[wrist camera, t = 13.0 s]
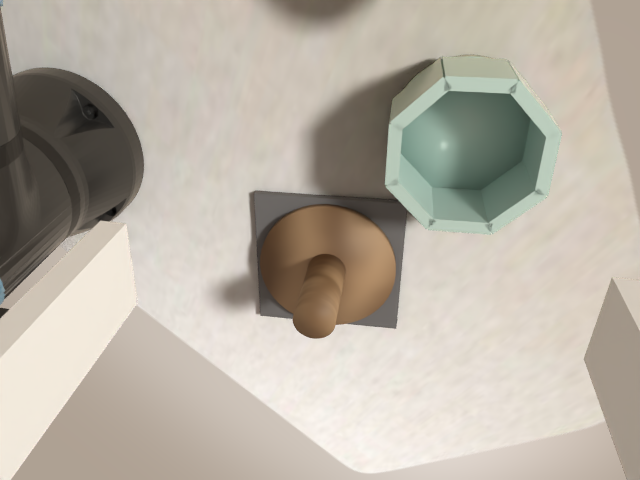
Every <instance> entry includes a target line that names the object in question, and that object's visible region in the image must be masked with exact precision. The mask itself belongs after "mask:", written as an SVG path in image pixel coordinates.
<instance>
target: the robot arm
mask: <svg viewBox="0 0 640 480" xmlns="http://www.w3.org/2000/svg"><path fill="white" fill-rule="evenodd" d="M0 6H3V0H0ZM143 171H144V160H143V152H142V147H141V144H140V140H139V138H138V135H137V133H136V130H135V128H134V126H133V124H132V123H131V121H130V119H129V118H128V116H127V115H126V113H125V112H124V110H123V109H122V108H121V107H120V105H119V104H118V103H117V102H116V101H115V100H114V99H113V98H112V97H111V96H110V95H109V94H108V93H107V92H105V91H104V90H103V89H102V88H100V87H99V86H97V85H96V84H94V83H93V82H91V81H89V80H88V79H86V78H84V77H82V76H80V75H77V74H75V73H72V72H69V71H65V70H61V69H56V68H34V69H29V70H25V71H23V72H20V73H18V74H15V75H13V76H12V71H11V66H10V60H9V54H8V48H7V42H6V37H5V31H4V25H3V19H2V13H1V8H0V305H1V303H2V302H3V300H4V299H5V298H6V297H7V296H8V295H9V294H10V293H11V292H12V291H13V290H14V289H15V288H16V287H17V286H18V285H19V284H20V283H21V282H22V281H23V280H24V279H25V278H26V277H27V276H29V275H30V274H31V272H33V271H34V270H35V269H36V268H37V267H38V266H39V265H40V264H41V263H42V262H43V261H44V260H45V259H46V258H47V257H48V256H49V255H50V254H51V253H52V252H53V251H54V250H55V249H56V248H57V247H58V246H59V245H60V244H61V243H62V242H63V241H64V240H65V239H66V238H67V237H70V236H73V235H76V234H79V233H82V232H85V231H88V230H90V231H89V232H88V233H87V234H86V235H85V236H84V237H83V238H82V239H81V240H80V241H79V242H78V243H77V244H76V245H75V246H74V247H73V248H72V249H71V250H70V251H69V252H68V253H67V254H66V255H65V256H64V257H63V258H62V259H61V260H60V261H59V262H58V263H57V264H56V265H55V266H54V267H53V268H52V269H50V270H49V271H48V272H47V273H46V274H45V275H44V276H43V277H42V278H41V279H40V280H39V281H38V282H37V283H36V284H35V285H34V286H33V287H32V288H31V289H30V290H29V291H28V292H27V293H26V294H25V295H24V296H23V297H22V298H21V299H20V300H19V301H18V302H17V303H16V304H15V305H14V306H13V307H12V308H11V309H4V308H0V480H11V479H12V477H13V476H14V474H15V473H16V472H17V470H18V469H19V467H20V466H21V465H22V463H23V462H24V460H25V459H26V458H27V456H28V455H29V453H30V452H31V451H32V449H33V448H34V447H35V445H36V444H37V442H38V441H39V440H40V438H41V437H42V435H43V434H44V432H45V431H46V430H47V428H48V427H49V426H50V424H51V423H52V421H53V420H54V419H55V417H56V416H57V415H58V413H59V412H60V410H61V409H62V408H63V406H64V405H65V403H66V402H67V401H68V399H69V398H70V396H71V395H72V394H73V392H74V391H75V389H76V388H77V387H78V385H79V384H80V383H81V381H82V380H83V378H84V377H85V376H86V374H87V373H88V371H89V370H90V368H91V367H92V366H93V364H94V363H95V362H96V360H97V359H98V357H99V356H100V355H101V353H102V352H103V351H104V349H105V348H106V346H107V345H108V344H109V342H110V340H111V339H112V338H113V337H114V335H115V334H116V332H117V331H118V329H119V328H120V327H121V325H122V324H123V323H124V321H125V320H126V319H127V317H128V316H129V314H130V313H131V312H132V310H133V309H134V307H135V306H136V305H137V303H138V301H137V294H136V287H135V280H134V273H133V267H132V260H131V253H130V246H129V239H128V233H127V226H126V223H117V222H110V221H112V220H113V219H114V218H116V217H117V216H118V215H119V214H120V213H121V212H122V211H123V210H124V209H125V208H126V207H127V206H128V205H129V204H130V203H131V202H132V201H133V199H134V198H135V196H136V195H137V193H138V191H139V188H140V186H141V182H142V178H143ZM584 361H585V363H586V366H587V369H588V372H589V375H590V378H591V380H592V383H593V386H594V389H595V392H596V394H597V397H598V400H599V403H600V406H601V409H602V411H603V414H604V417H605V420H606V423H607V425H608V428H609V431H610V434H611V437H612V440H613V442H614V445H615V448H616V451H617V454H618V456H619V459H620V462H621V465H622V468H623V471H624V473H625V476H626V479H627V480H640V280H635V279H626V278H617V277H612V279H611V282H610V285H609V288H608V290H607V293H606V296H605V299H604V302H603V305H602V308H601V311H600V314H599V316H598V319H597V322H596V325H595V328H594V331H593V334H592V337H591V340H590V343H589V345H588V348H587V351H586V354H585V357H584Z"/></svg>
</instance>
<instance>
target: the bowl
mask: <svg viewBox="0 0 640 480" xmlns="http://www.w3.org/2000/svg"><path fill="white" fill-rule="evenodd" d="M561 136H562V133H561V130H560V128H559V126H558V125H557V123H556V122H555V120H554V119H553V117H552V116H551V114H550V112H549V111H548V109H547V108H546V106H545V105H544V104H543V102H542V101H541V100H540V99H539V97H538V96H537V95H536V94H535V92H534V91H533V90H532V89H531V88H530V86H529V85H528V84H527V82H526V81H525V79H524V78H523V77H522V76H521V75H520V74H519V73H518V72H517V70H516V69H515V68H514V67H513V65H512V64H511V63H510V62H509V60H507V59H493V58H489V57H485V56H479V55H460V56H454V57H443V56H442V59H441V58H439V59H438V60H436V61H435V62H434V63H433V64H432V65H430V66H428V67H427V68H425V69H423V70H422V71H421V72H420V73H418V74H417V75H416V76H415V77H414V78H413V79H412V80H411V81H410V82H409V83H408V84H407V85H406V87H405V88H404V89H403V90H402V91H401V92H400V93H399V94H398V95H396V96H395V97H394V98H393V100H392V105H391V112H390V120H389V131H388V145H387V160H386V174H385V185H386V186H385V187H386V188H387V189H388V190H389V191H390V192H391V193H392V194H393V195H394V196H395V197H396V198H397V199H398V200H399V201H400V202H401V204H402V205H403V206H404V207H405V208H406V209H407V210H408V211H409V212H410V213H411V214H412V215H413V216H414V217H415V218H416V219H417V220H418V221H419V222H420V223H421V224H422V225H423V226H424V228H425V229H427V228H428V230H435V231H448V232H462V233H475V234H488V235H491V233H492V234H494V233H495V232H497V231H498V230H500V229H501V228H502V227H504V226H505V225H507V224H508V223H510V222H511V221H513V220H514V219H516V218H517V217H519V216H520V215H522V214H523V213H525V212H526V211H528V210H529V209H531V208H532V207H534V206H535V205H537V204H538V203H540V202H541V201H543V200H544V199H546V198H547V197H546V196H548V194H549V190H550V185H551V181H552V176H553V172H554V167H555V163H556V158H557V154H558V149H559V145H560V140H561Z"/></svg>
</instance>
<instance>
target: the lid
mask: <svg viewBox="0 0 640 480" xmlns="http://www.w3.org/2000/svg"><path fill="white" fill-rule="evenodd" d="M260 268H261V274H262V277H263V280H264V283H265V285H266V287H267V289H268V290H269V292H270V293H271V295H272V296H273V297H274V299H275V300H276V301H277V302H278V303H279V304H280V305H281V306H283V307H284V308H285V309H286V310H288V311H289V312H291V313H293V314H294V315H293V324H294V326H295V328H296V329H297V330H298V331H299V332H300V333H301V334H303V335H304V336H306V337H309V338H323V337H326V336H328V335H329V334H331V333H332V332H333V330H334V328H335V325H338V324H347V323H352V322H355V321H358V320H361V319H363V318H365V317H367V316H369V315H371V314H372V313H374V312H375V311H376V310H378V309H379V308H380V307H381V306H382V305H383V304H384V303H385V301H386V300H387V298H388V297H389V295H390V293H391V291H392V289H393V286H394V282H395V276H396V260H395V254H394V251H393V248H392V245H391V243H390V241H389V239H388V238H387V236H386V235H385V233H384V232H383V231H382V230H381V228H380V227H379V226H378V225H377V224H375V223H374V222H373V221H372V220H371V219H369V218H368V217H366V216H365V215H363V214H361V213H359V212H357V211H355V210H353V209H350V208H347V207H343V206H339V205H332V204H315V205H309V206H304V207H301V208H298V209H296V210H293V211H291V212H290V213H288V214H286V215H285V216H283V217H282V218H281V219H280V220H279V221H277V222H276V223H275V224H274V226H273V227H272V228H271V230H270V231H269V233H268V235H267V237H266V239H265V241H264V244H263V247H262V249H261V255H260Z"/></svg>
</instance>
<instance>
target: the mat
mask: <svg viewBox="0 0 640 480" xmlns="http://www.w3.org/2000/svg"><path fill="white" fill-rule="evenodd" d="M254 201H255V220H256V238H257V257H258V276H259V294H260V313H261V316H270V317H280V318H291V319H293V315H294V314H293V313H291V312H289V311H288V310H286V309H285V308H284V307H283V306H281V305H280V304H279V303H278V302H277V301H276V300H275V299H274V297H273V296H272V295H271V293H270V292H269V290H268V289H267V287H266V285H265V283H264V280H263V277H262V274H261V268H260V255H261V249H262V247H263V244H264V241H265V239H266V237H267V235H268V233H269V231H270V230H271V228H272V227H273V226H274V224H275V223H276V222H277V221H279V220H280V219H281V218H282V217H283V216H285V215H286V214H288V213H290V212H291V211H293V210H296V209H298V208H301V207H304V206H309V205H315V204H332V205H339V206H343V207H347V208H350V209H353V210H355V211H357V212H359V213H361V214H363V215H365V216H366V217H368V218H369V219H371V220H372V221H373V222H374V223H375V224H377V225H378V226H379V227H380V228H381V230H382V231H383V232H384V233H385V235H386V236H387V238H388V239H389V241H390V243H391V245H392V248H393V251H394V254H395V260H396V276H395V282H394V286H393V289H392V291H391V293H390V295H389V297H388V298H387V300H386V301H385V303H384V304H383V305H382V306H381V307H380V308H379V309H378V310H376V311H375V312H374V313H372V314H371V315H369V316H367V317H365V318H363V319H361V320H358V321H355V322H352V323H347V324H353V325H364V326H374V327H385V328H395V329H396V324H397V313H398V303H399V292H400V281H401V270H402V259H403V248H404V237H405V226H406V215H407V209H406V208H405V207H404V206H403V205H402V204H401V202H400V201H397V200H383V199H368V198H354V197H340V196H325V195H311V194H296V193H282V192H268V191H255V193H254Z"/></svg>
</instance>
